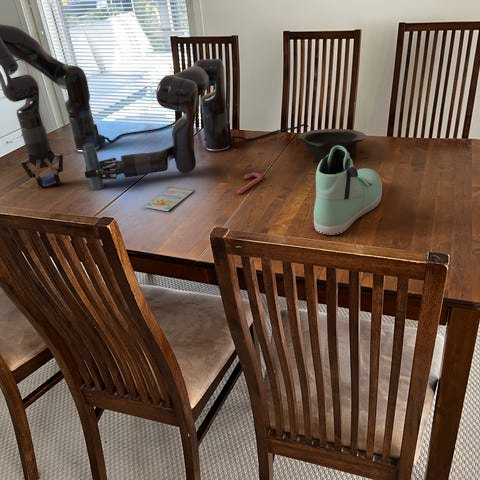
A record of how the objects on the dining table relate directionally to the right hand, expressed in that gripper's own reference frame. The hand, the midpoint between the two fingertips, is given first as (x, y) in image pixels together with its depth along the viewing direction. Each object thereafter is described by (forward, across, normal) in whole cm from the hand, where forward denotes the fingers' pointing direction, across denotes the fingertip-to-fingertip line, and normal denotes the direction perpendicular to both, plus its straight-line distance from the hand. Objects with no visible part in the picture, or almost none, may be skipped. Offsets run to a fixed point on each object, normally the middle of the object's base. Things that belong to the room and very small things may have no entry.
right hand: (85, 172), depth 161 cm
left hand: (+14, -8, +6) cm, 17 cm away
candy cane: (-52, +17, +6) cm, 55 cm away
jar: (-3, 0, +6) cm, 7 cm away
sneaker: (-76, +43, +6) cm, 87 cm away
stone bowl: (-86, +2, +6) cm, 87 cm away
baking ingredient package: (-26, +19, +6) cm, 32 cm away
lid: (+14, -8, +3) cm, 16 cm away
